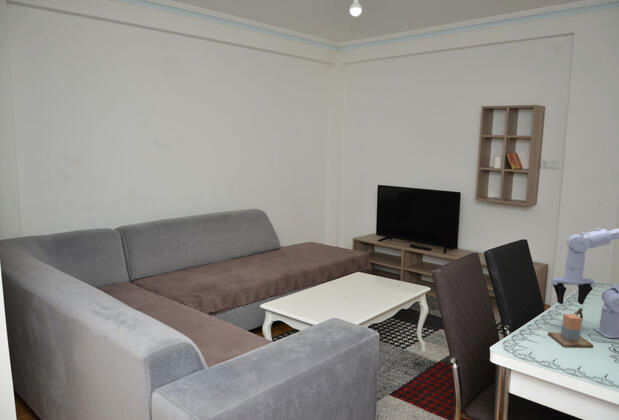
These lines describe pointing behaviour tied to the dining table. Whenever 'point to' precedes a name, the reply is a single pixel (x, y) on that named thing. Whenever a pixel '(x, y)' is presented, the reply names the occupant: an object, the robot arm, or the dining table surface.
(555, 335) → the walnut base plate
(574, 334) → the slate cube
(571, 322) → the terracotta cube
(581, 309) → the wooden post with brackets
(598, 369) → the dining table surface
